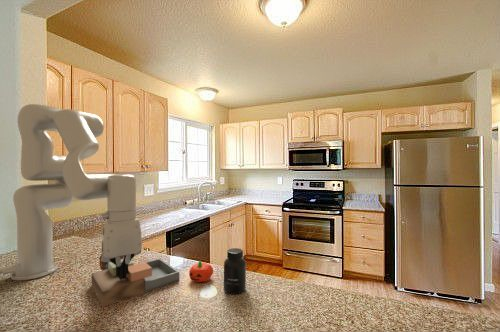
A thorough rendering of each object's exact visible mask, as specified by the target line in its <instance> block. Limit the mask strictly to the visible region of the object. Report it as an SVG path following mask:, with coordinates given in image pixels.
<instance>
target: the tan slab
mask: <svg viewBox="0 0 500 332" xmlns="http://www.w3.org/2000/svg"><path fill="white" fill-rule="evenodd" d="M91 287H92V289H93V291H94V293H95V295H96V297H97V298H98V300H99V302H100V304H101V306H102V307H103V308H105V307H107V306H110V305H113V304H116V303H119V302H121V301H122V302H123V301H125V300H128V299H130V298H133V297H136V296H139V295H142V294H145V293H146V292H145V279H144V278H143V279H140V280H136V281H133V282H131V281H130V280H129V279H128V278H127V277H126V278H125V279H124V278H123V279H121V280H120V279H119V277H118V276H116V275H115V276H113V275H112V274H111V273H110V272H109V270H108V269H106V270H99V271H95V272H92V273H91Z"/></svg>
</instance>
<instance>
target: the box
mask: <svg viewBox="0 0 500 332" xmlns="http://www.w3.org/2000/svg"><path fill="white" fill-rule="evenodd" d="M145 262H146V263H147V264H148V265H149V266H150V267H152V276H149V277H146V278H144V279H145V293H148V292H151V291H154V290H157V289H159V288H163V287H165V286H168V285H172V284H174V283H177V282H179V281H180V270H177V269H176V268H175V267H173V266H172V265H170V264H169V263H167V262H166V261H164V260H163V259H161V258H157V259H152V260H149V261H145Z"/></svg>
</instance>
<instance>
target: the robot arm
mask: <svg viewBox="0 0 500 332" xmlns="http://www.w3.org/2000/svg"><path fill="white" fill-rule="evenodd" d="M17 127H18V131H19V134H20V138H21V152H20V154H21V155H20V174H21V176H22V179H25V180H26V181H32V182H33V181H35V182H36V181H37V182H39V181H40V182H41V181H42V182H43V181H44V182H45V181H54V183H41V184H40V183H39V184H28V185H23V186H21V187H19V188H18V189H16V190H15V191H14V193H13V196H12V197H13V198H12V201H13V206H14V209H15V215H16V232H17V233H16V236H17V238H16V240H17V241H16V246H17V247H16V261H15V264H12V265H11V266H10V265H9V266H3V267H0V275H1V274H3V276H4V275H9V274H10V279H11V280H13V281H27V280H32V279H34V280H35V279H38V278H42V277H45V276H48V275H49V274H52V273H54V272H56V271H57V270H58V268H59V264H58V263H55V262H54V261H53V253H54V251H53V248H54V247H53V240H54V239H53V238H54V237H53V236H54V235H53V233H54V232H53V225H54V224H53V220H52V218H51V216H50V215H48V213H47V212H46V211H48V210H54V209H60V208H65V207H69V206H70V205H72V203H73V201H74V198H75V199H78V200H80V201H90V200H99V199H106V201H107V202H106V203H107V211H106V212H105V213H102V214H101V220H106V221H105V222H104V225H103V231H102V237H101V254H102V257H101V261H102V262H112V263H113V264H115V265H116V276H118V277H119V279H120V280H121V279H123V278H124V279H125V278H126V277H127V274H128V264H129V263H130V261H132V260H133V258H134V257H136V256H138V255H140V254H142V250H143V239H142V229H141V228H142V227H141V223H140V219H139V218H138V217H137V198H136V197H137V189H136V188H137V186H136V185H137V182H136V181H137V180H136V176H134V175H133V174H116V173H87V174H86V172H85V170H84V168H83V167H82V164H81V161H84V160H85V159H88V158H90V157H92V156H94V155H95V154H96V153H97V152H98V151H99V150H100V149H99V147H100V145H99V142H98V141H97V139H96V138H99V137H100V136H102V134H103V132H104V129H105V127H104V123H103V120H102V119H101V117H99V116H98V115H97V114H93V113H89V112H85V111H81V110H75V109H63V108H59V107H55V106H50V105H45V104H39V103H38V104H37V103H33V104H30V103H29V104H26V105H24V106H22V107H21V108H20V110H19V112H18V114H17ZM47 131H49V132H55V133H58V134H59V136H60V138H61V140H62V142H63V144H64V146H65V148H66V150H67V152H68V154H67V155H60V154H59V155H58V154H54V142H53V140H52V138H51V137H50V135H49V133H48V132H47ZM121 256H124V257H123V261H122V263H121V260H120V257H121Z"/></svg>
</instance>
